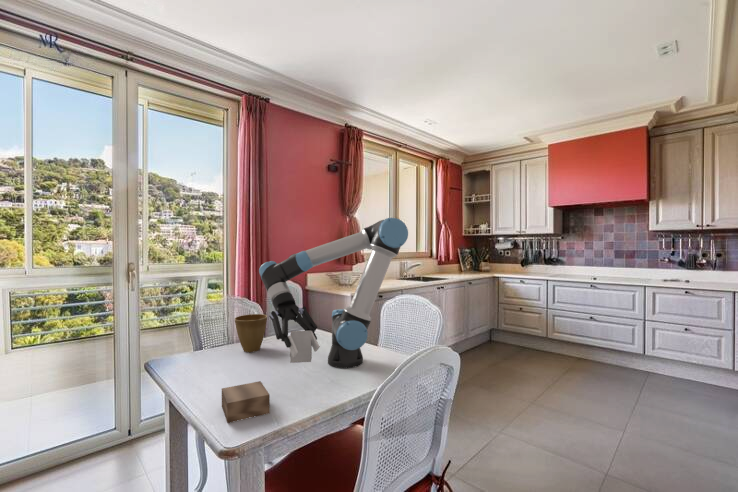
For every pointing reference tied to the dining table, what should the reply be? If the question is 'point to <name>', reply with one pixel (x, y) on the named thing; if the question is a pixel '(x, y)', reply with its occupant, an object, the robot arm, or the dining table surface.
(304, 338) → the small grey carton
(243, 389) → the walnut block
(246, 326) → the plant pot
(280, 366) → the dining table surface
